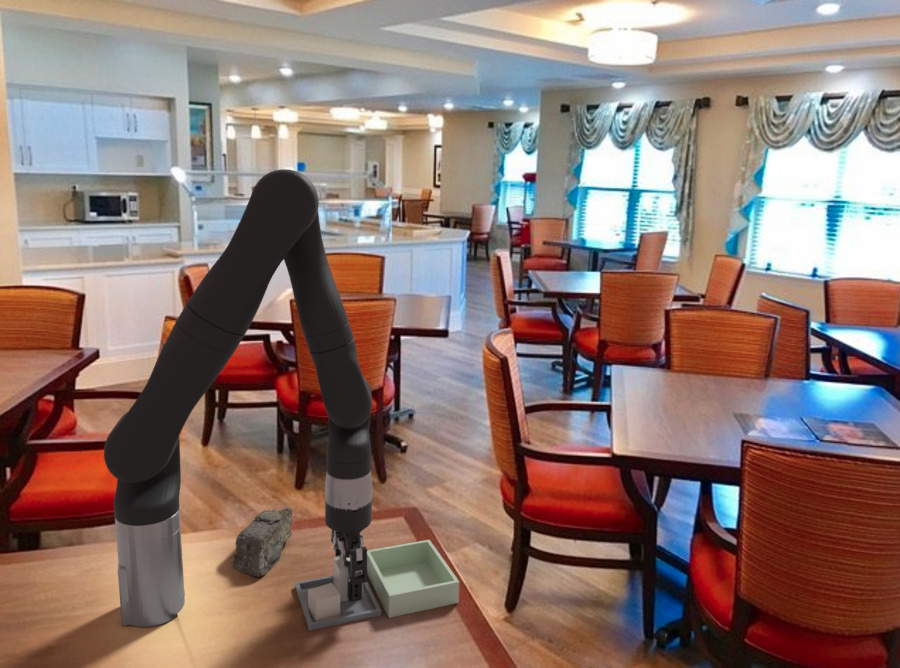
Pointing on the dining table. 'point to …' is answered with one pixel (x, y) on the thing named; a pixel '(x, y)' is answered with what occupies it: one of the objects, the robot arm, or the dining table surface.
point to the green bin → (411, 578)
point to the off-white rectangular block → (341, 578)
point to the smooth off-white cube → (324, 602)
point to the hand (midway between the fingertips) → (348, 585)
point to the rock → (262, 542)
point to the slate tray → (348, 610)
